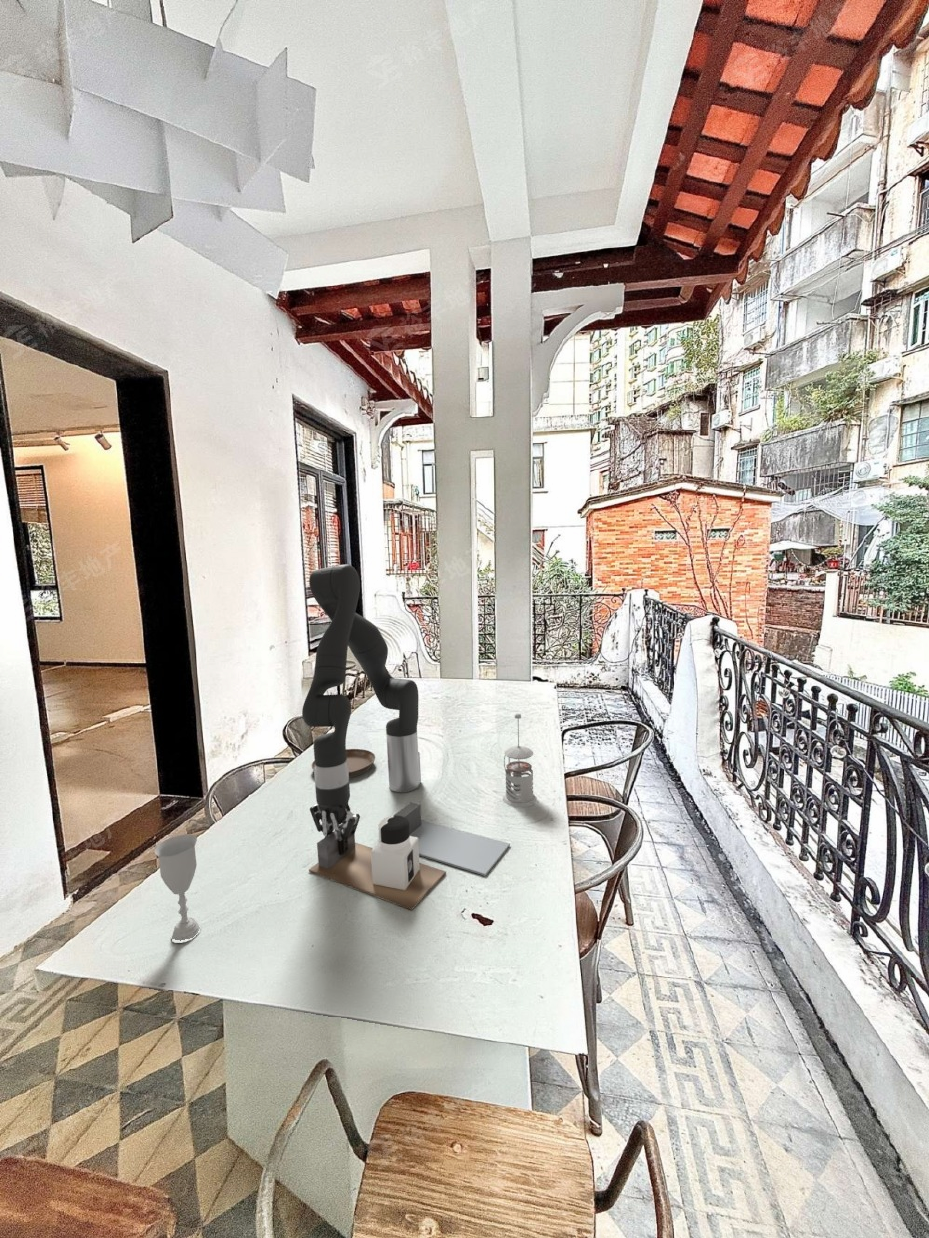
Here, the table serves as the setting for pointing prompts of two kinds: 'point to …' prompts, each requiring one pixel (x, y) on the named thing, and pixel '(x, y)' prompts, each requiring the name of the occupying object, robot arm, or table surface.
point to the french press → (519, 776)
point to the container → (395, 854)
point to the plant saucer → (357, 761)
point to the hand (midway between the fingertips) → (337, 850)
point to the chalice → (179, 877)
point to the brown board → (369, 872)
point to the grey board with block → (453, 843)
